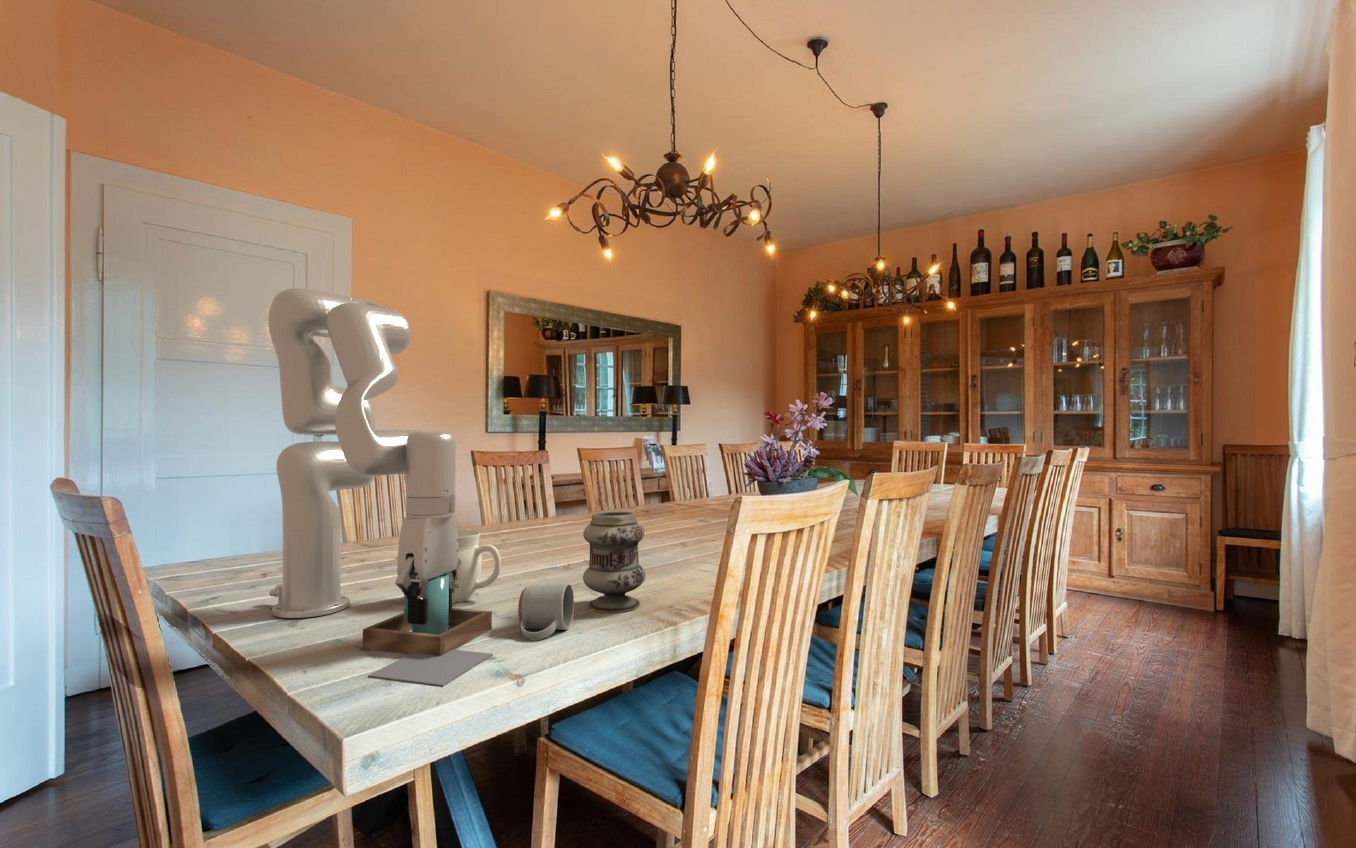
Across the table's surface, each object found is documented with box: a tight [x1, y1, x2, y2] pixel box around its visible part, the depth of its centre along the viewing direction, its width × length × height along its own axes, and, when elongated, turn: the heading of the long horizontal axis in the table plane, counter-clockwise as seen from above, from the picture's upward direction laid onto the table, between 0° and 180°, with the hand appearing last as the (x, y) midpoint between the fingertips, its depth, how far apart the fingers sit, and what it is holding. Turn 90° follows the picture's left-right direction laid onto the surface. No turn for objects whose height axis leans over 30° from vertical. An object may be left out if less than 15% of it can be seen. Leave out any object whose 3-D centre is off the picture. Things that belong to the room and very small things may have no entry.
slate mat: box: [367, 649, 494, 687], centre depth 91 cm, size 12×12×1 cm
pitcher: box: [450, 528, 502, 604], centre depth 127 cm, size 11×18×14 cm, turn 82°
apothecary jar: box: [582, 510, 646, 614], centre depth 122 cm, size 12×12×18 cm
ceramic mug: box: [517, 582, 575, 641], centre depth 107 cm, size 11×8×8 cm
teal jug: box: [403, 574, 450, 635], centre depth 103 cm, size 7×6×10 cm
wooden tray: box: [362, 607, 493, 656], centre depth 103 cm, size 14×14×3 cm
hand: (430, 616), depth 103 cm, fingers closed on teal jug, 5 cm apart
